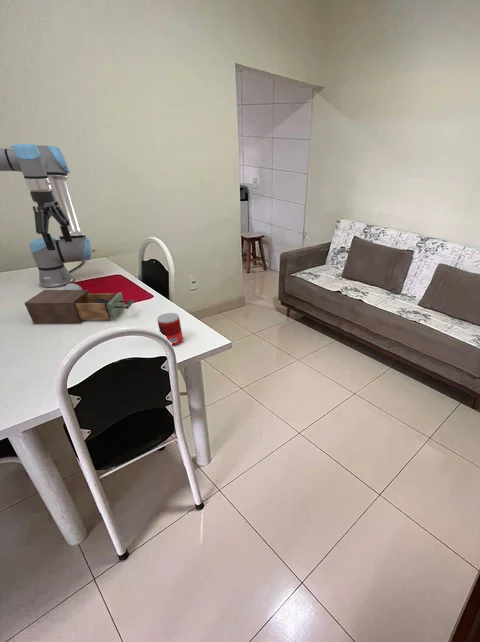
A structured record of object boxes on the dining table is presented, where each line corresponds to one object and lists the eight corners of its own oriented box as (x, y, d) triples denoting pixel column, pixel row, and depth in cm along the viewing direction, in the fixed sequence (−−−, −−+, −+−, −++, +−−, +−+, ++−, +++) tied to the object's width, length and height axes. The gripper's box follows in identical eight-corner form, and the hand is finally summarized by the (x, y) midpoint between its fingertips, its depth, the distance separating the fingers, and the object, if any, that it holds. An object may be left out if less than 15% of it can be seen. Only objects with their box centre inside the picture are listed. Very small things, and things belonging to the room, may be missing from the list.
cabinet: (94, 309, 152) (88, 289, 147) (80, 323, 140) (72, 302, 135) (52, 309, 150) (44, 289, 145) (33, 324, 139) (24, 303, 133)
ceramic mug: (63, 304, 155) (57, 289, 151) (67, 298, 162) (62, 283, 158) (88, 303, 158) (83, 288, 154) (91, 296, 165) (87, 282, 161)
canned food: (187, 338, 133) (182, 314, 127) (174, 348, 126) (169, 323, 120) (171, 335, 135) (166, 311, 129) (158, 344, 128) (152, 319, 122)
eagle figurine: (91, 316, 139) (112, 308, 143) (82, 300, 138) (104, 293, 142) (94, 318, 146) (114, 310, 150) (86, 304, 145) (107, 296, 149)
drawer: (138, 307, 153) (134, 292, 149) (129, 320, 142) (124, 304, 138) (86, 308, 151) (80, 292, 147) (72, 321, 140) (65, 304, 136)
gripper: (31, 195, 117) (54, 254, 128) (67, 187, 137) (83, 238, 149) (9, 194, 116) (33, 254, 127) (48, 186, 137) (66, 238, 148)
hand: (60, 245), depth 138 cm, fingers open, 13 cm apart
